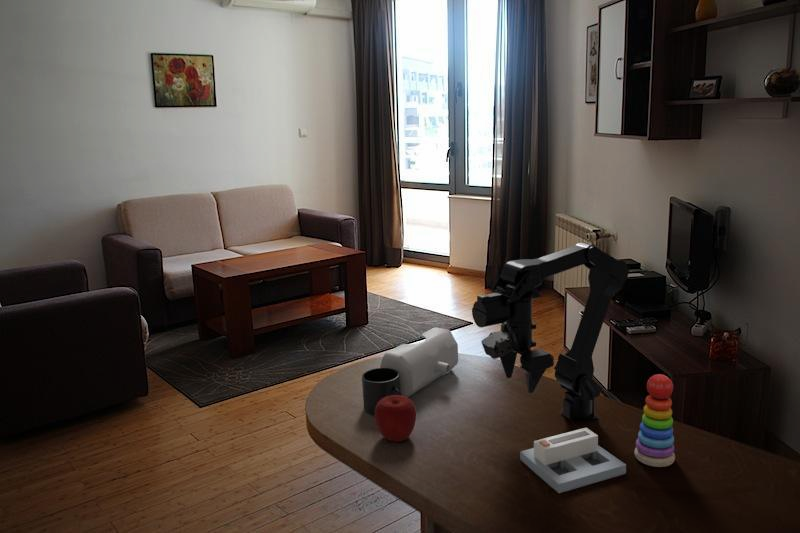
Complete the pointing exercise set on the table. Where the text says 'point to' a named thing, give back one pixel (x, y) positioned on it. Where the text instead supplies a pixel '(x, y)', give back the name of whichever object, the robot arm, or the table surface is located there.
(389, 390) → the mug
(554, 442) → the power strip
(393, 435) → the apple
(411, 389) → the tank
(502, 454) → the table surface
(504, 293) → the robot arm
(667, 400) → the stacking toy
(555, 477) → the keyhole board
